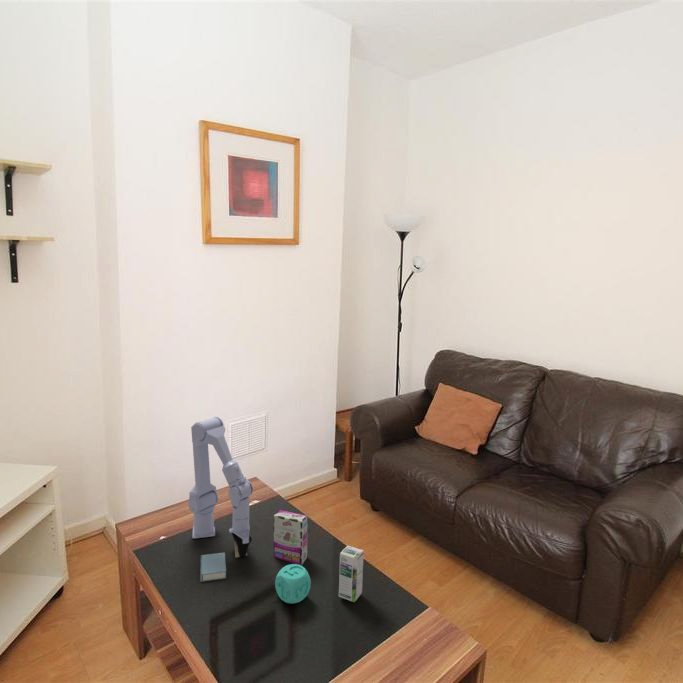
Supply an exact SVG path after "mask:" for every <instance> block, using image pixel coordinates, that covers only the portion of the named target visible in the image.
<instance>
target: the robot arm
mask: <svg viewBox="0 0 683 683" xmlns="http://www.w3.org/2000/svg"><path fill="white" fill-rule="evenodd" d="M190 432H191V442H192V453H193V454H192V456H193V470H194V482H195V483H194V484H195V485H194V486H193V487H192V488H191V490H190V491H189V494H188V495H189V497H188V503H187V507H188V508H189V510H190V512H192V513H193V525H192V539H200V538H208V537H209V538H210V537H215V536H216V526H215V521H214V520H215V517H214V514H215V511H214V510H215V508H216V505H217V504H218V503H219V494H218V492H217V486H216V485H214V484H213V483H212V482H211V470H210V469H211V468H210V467H211V466H210V454H209V453H210V452H209V445H211V446H213V448H214V451H215V453H216V454H217V455H218V457H219V459H220V461H221V462H222V469H221V472H222V474H223V475H224V478H225V479H226V483H227V484H228V486H229V490H228V492H227V494H228V496H229V499H230V504H231V507H232V508H231V509H232V515H231V516H232V520H231V521H232V524H231V525H232V526H231V527H230V528H228V532H229V534H231V535H232V539H233V542H234V543H235V542H236V544H237V546H238V552H239V556H240V557H239V558H244V557H247V556H246V553H247V554H248V549H249V546H250V544H251V542H252V540H253V538H252V536H249V535H250V528H251V527H250V496H252V494H253V491H254V490H253V488H254V487H253V484H252V482H250V481H249V480H248V479H247V477H246V476H244V474H243V472H242V470H241V467H240V465H239V463H238V462H237V461H235V460H234V459H233V457H232V455H231V451H230V449H229V446H228V443H227V440H226V437H225V432H226V428H225V425H224V422H223V420H222V419H221V418H220V417H219V416H214V417H212V418H209V419H205V420H202V421H197V422H195V423H194V424H192V426H191V431H190Z"/></svg>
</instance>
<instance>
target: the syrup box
mask: <svg viewBox="0 0 683 683" xmlns="http://www.w3.org/2000/svg"><path fill="white" fill-rule="evenodd" d="M363 571H364V549H361V548H360V549H359V548H357V547H354V546H350V545H346V546H345V548H343V549H342V551H341V552H339V578H338V580H339V581H338V583H339V584H338V597H339V598H341V599H344V600H348V601H349V602H353V603H355V602H356V601H357V600H358V598H359V597H360V596H361V594H362V593H363V580H364V578H363V574H364V572H363Z"/></svg>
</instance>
